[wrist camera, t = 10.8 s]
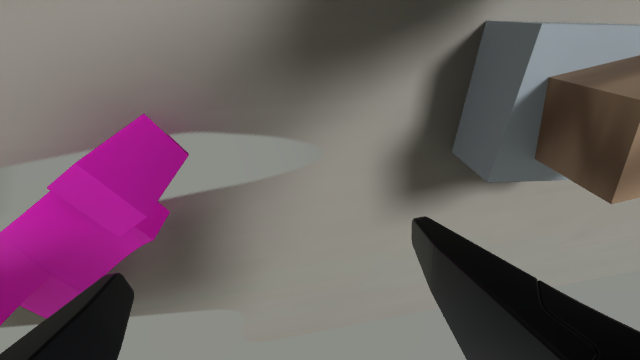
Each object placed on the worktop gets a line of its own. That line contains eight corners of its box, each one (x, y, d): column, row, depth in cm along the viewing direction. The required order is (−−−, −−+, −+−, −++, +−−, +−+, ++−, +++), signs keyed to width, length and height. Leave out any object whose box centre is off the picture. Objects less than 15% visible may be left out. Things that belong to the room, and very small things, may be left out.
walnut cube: (548, 77, 16) (647, 101, 12) (641, 54, 16) (775, 71, 12) (534, 158, 18) (611, 204, 14) (614, 139, 18) (716, 179, 14)
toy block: (85, 272, 25) (16, 362, 19) (9, 228, 23) (-102, 315, 16) (215, 178, 22) (186, 246, 16) (145, 112, 19) (75, 163, 13)
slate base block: (483, 20, 19) (542, 23, 15) (610, 23, 20) (702, 27, 15) (449, 150, 23) (487, 182, 19) (555, 148, 24) (613, 178, 20)
